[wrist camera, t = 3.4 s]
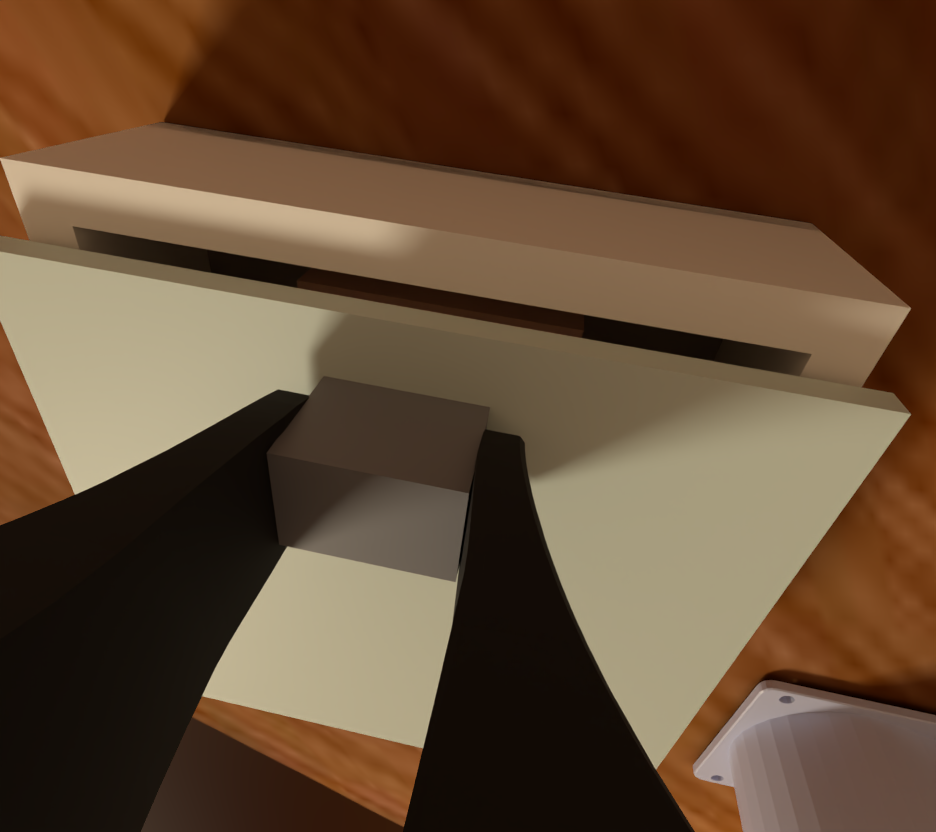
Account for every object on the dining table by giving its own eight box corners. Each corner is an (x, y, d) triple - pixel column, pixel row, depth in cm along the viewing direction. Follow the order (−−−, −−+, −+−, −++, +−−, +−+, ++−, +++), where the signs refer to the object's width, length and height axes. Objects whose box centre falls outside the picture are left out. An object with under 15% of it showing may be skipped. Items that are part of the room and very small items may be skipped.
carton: (811, 223, 12) (911, 307, 8) (630, 609, 20) (640, 737, 17) (162, 121, 13) (-1, 158, 9) (240, 527, 21) (170, 629, 18)
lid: (893, 392, 9) (998, 517, 7) (633, 777, 17) (641, 888, 15) (-2, 235, 10) (-172, 295, 8) (167, 668, 19) (110, 757, 16)
